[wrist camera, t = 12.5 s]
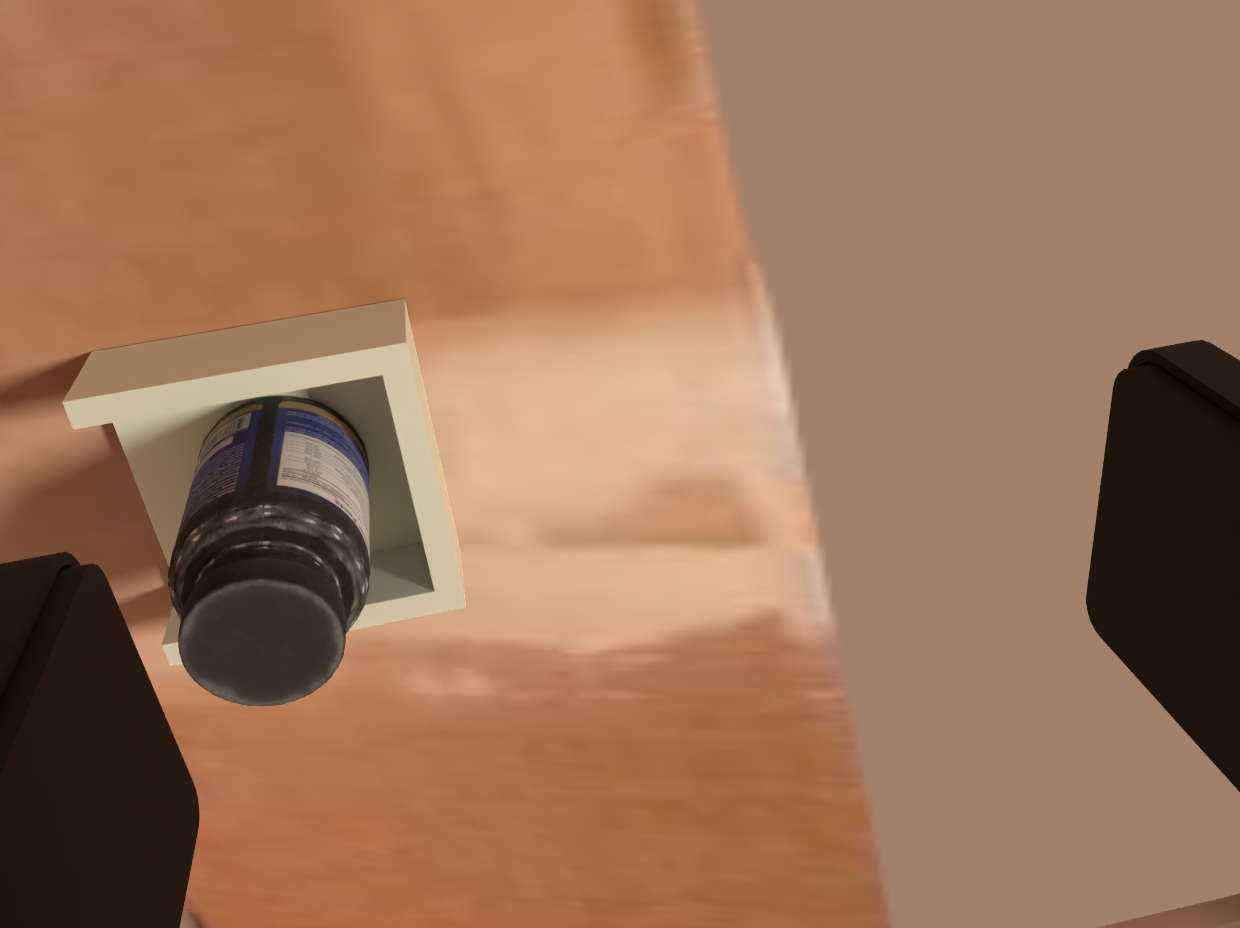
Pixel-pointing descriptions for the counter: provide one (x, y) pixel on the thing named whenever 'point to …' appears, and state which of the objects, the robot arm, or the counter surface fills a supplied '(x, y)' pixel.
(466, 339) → the counter surface
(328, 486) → the pill bottle
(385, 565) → the holder
